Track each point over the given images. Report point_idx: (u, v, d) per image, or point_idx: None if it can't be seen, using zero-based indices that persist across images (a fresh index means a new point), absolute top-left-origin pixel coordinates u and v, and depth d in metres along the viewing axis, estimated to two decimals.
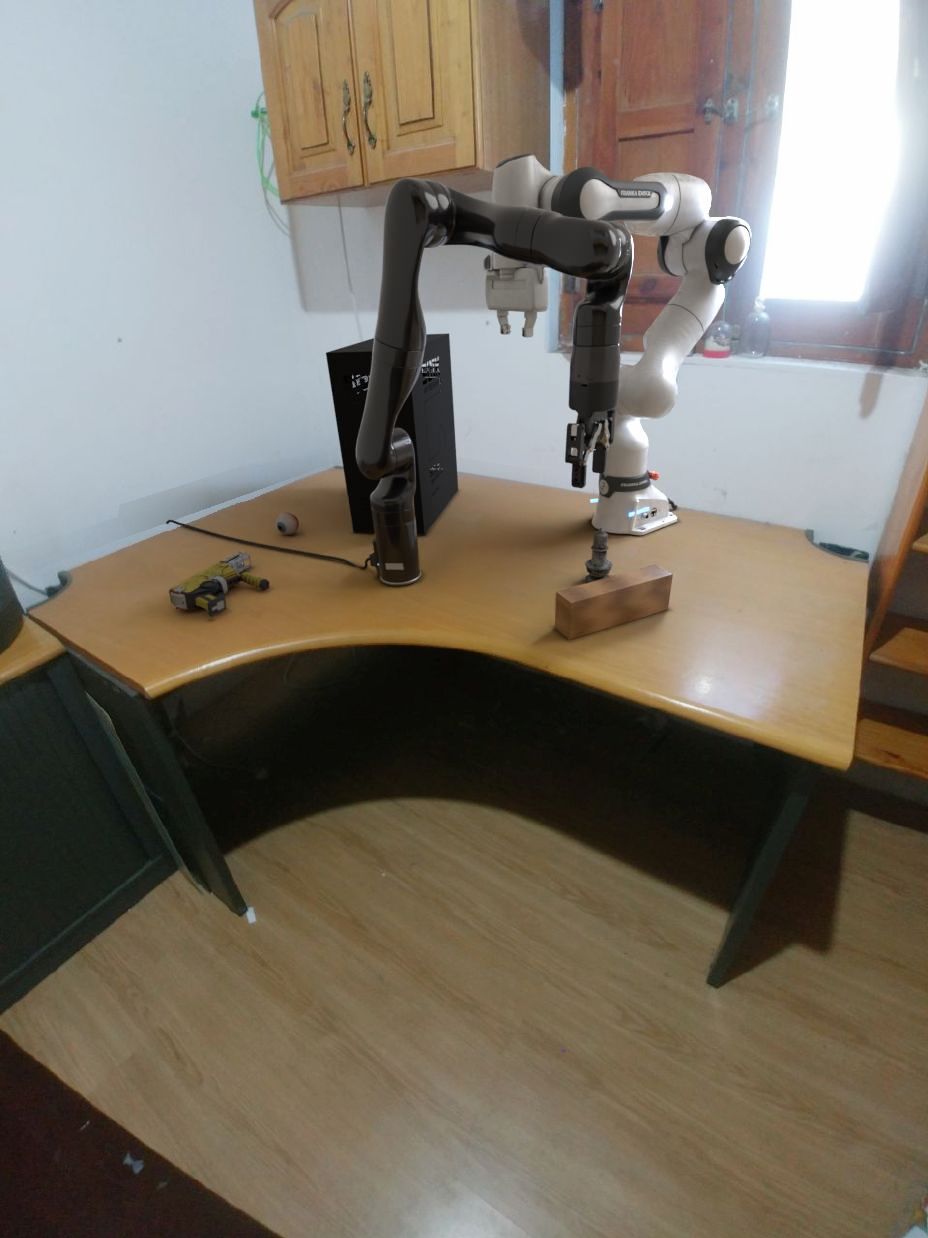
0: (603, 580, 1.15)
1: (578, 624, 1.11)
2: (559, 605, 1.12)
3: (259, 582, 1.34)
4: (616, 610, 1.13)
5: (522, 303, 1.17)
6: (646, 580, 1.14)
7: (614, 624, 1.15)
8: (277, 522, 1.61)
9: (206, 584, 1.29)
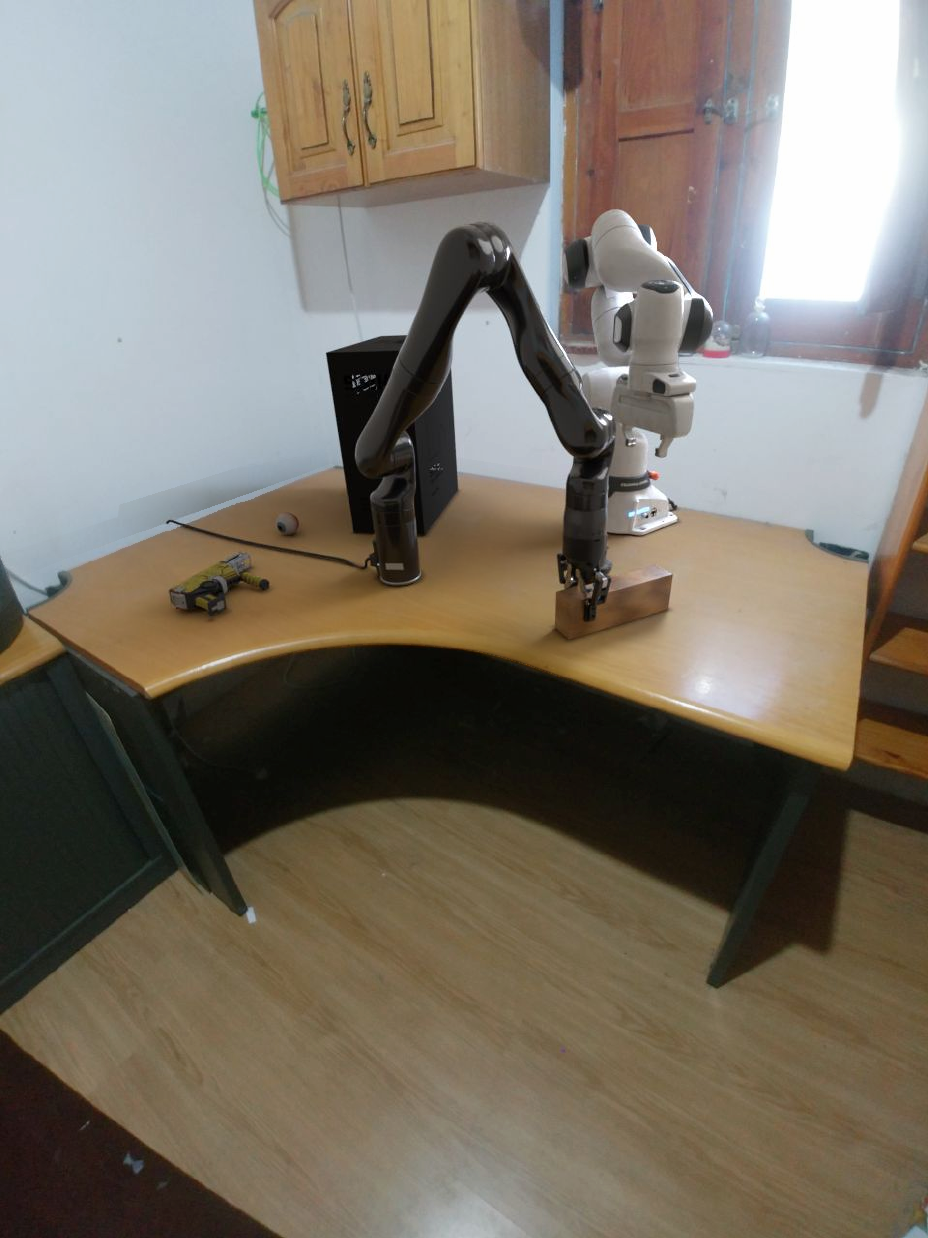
0: None
1: (578, 624, 1.11)
2: (559, 605, 1.12)
3: (259, 582, 1.34)
4: (616, 610, 1.13)
5: None
6: (646, 580, 1.14)
7: (614, 624, 1.15)
8: (277, 522, 1.61)
9: (206, 584, 1.29)
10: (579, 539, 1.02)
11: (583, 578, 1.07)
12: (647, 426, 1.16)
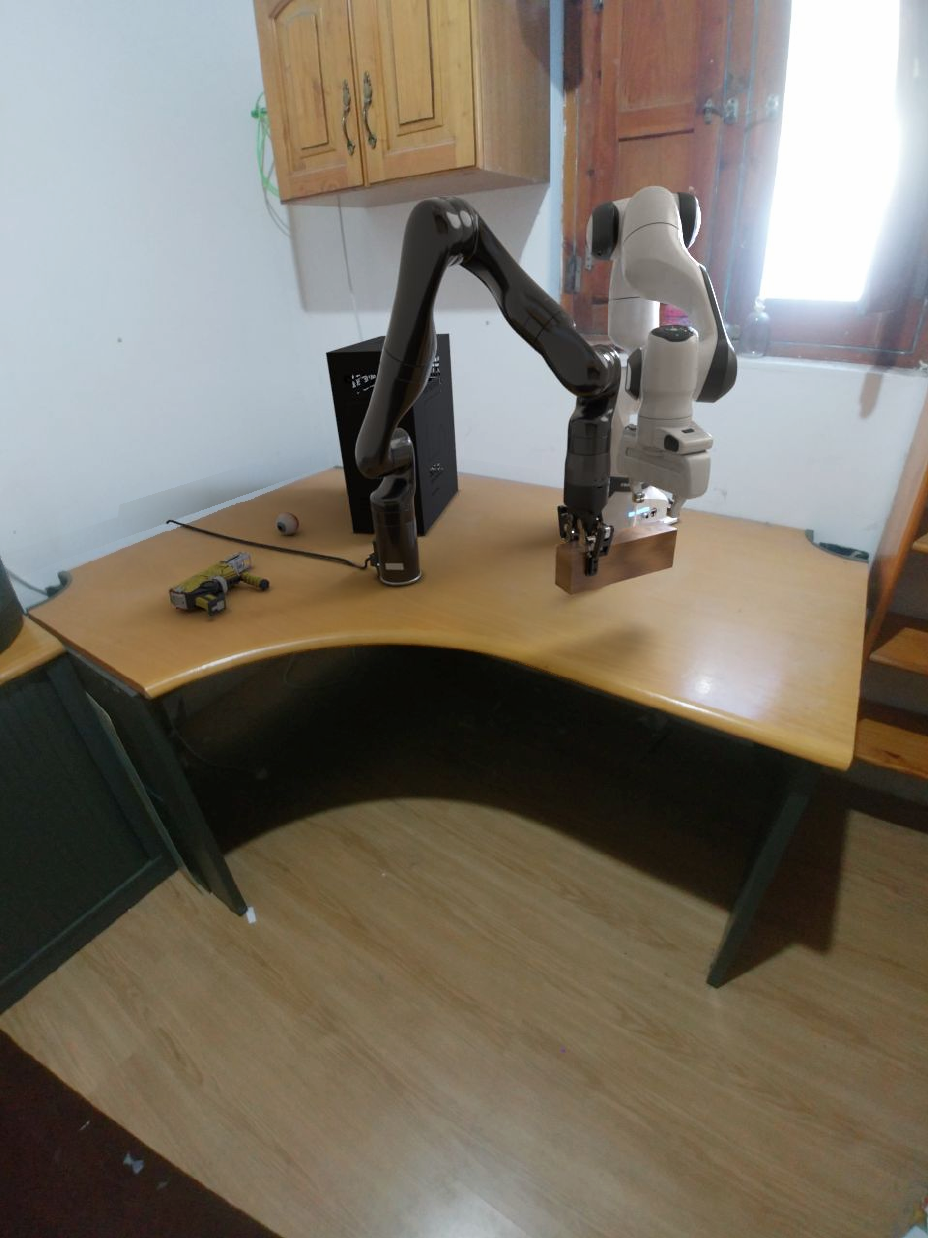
0: None
1: (579, 578, 1.06)
2: (559, 559, 1.07)
3: (259, 582, 1.34)
4: (618, 565, 1.09)
5: None
6: (650, 534, 1.09)
7: (616, 580, 1.10)
8: (277, 522, 1.61)
9: (206, 584, 1.29)
10: (581, 486, 0.97)
11: (585, 529, 1.02)
12: (658, 484, 1.04)
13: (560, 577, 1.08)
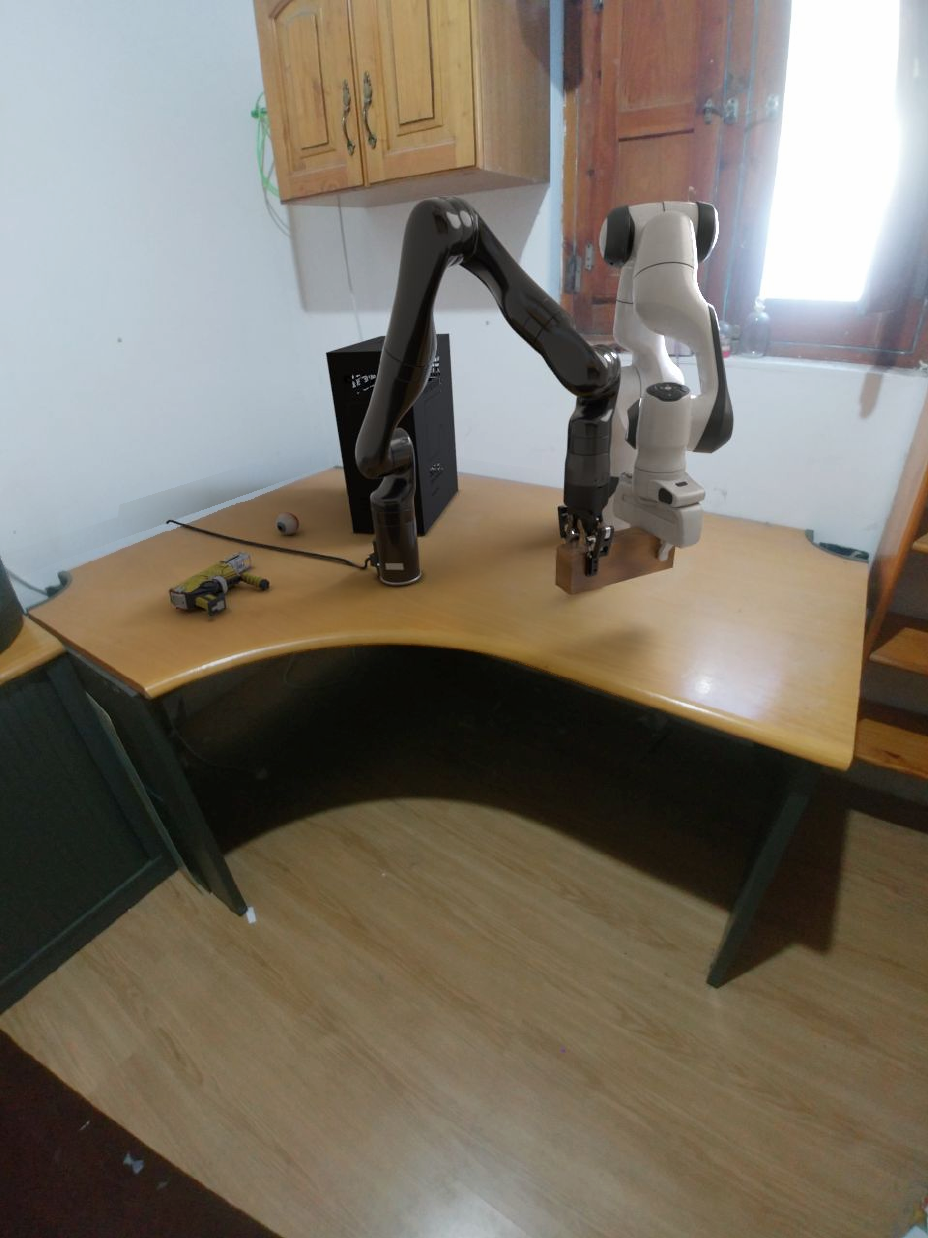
0: None
1: (579, 578, 1.06)
2: (560, 559, 1.07)
3: (259, 582, 1.34)
4: (619, 565, 1.09)
5: None
6: (650, 534, 1.09)
7: (617, 581, 1.10)
8: (277, 522, 1.61)
9: (206, 584, 1.29)
10: (581, 486, 0.97)
11: (585, 529, 1.02)
12: (652, 531, 1.09)
13: (560, 577, 1.08)
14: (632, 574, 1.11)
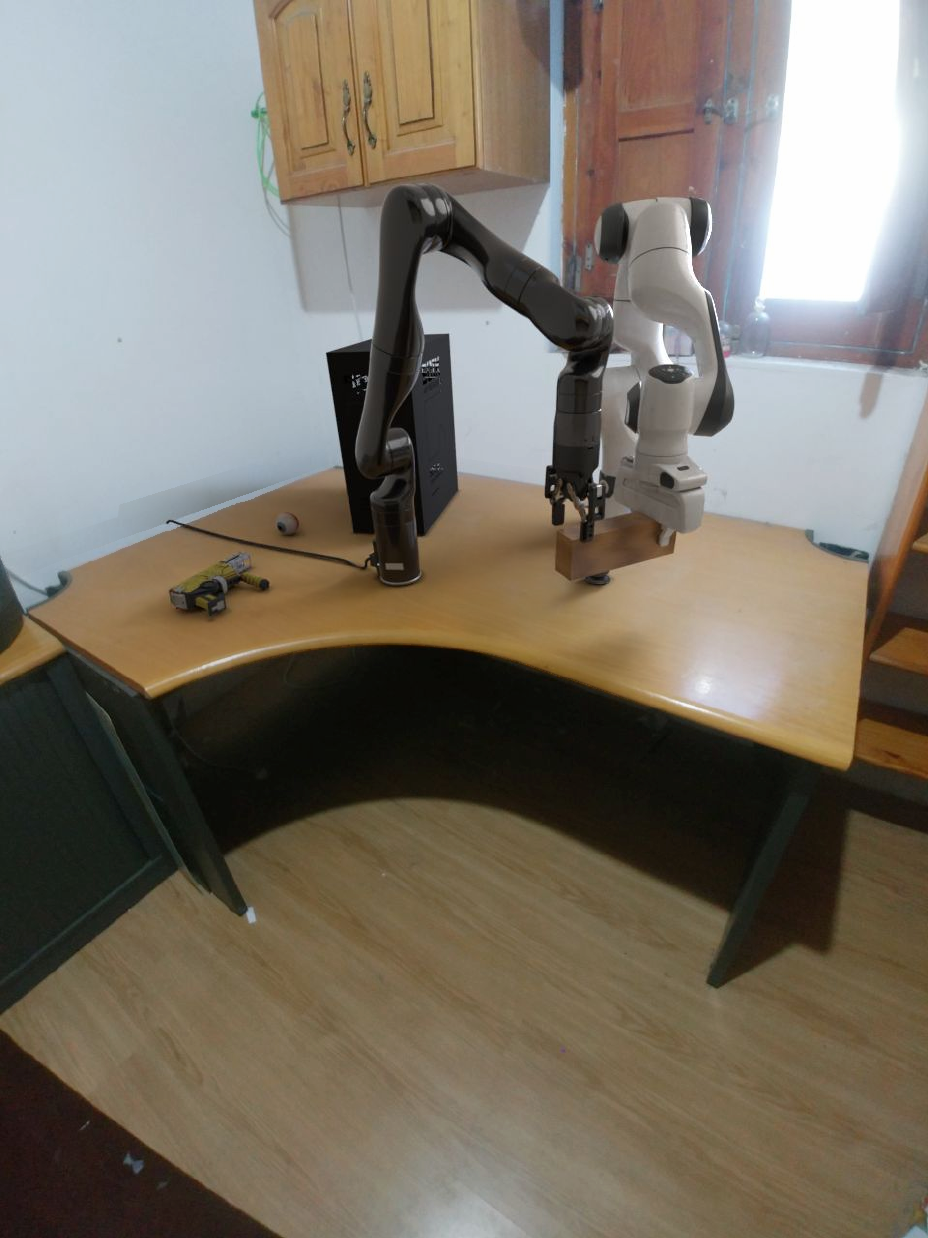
0: (606, 520, 1.09)
1: (579, 564, 1.05)
2: (560, 544, 1.06)
3: (259, 582, 1.34)
4: (619, 550, 1.08)
5: None
6: (651, 519, 1.08)
7: (617, 566, 1.09)
8: (277, 522, 1.61)
9: (206, 584, 1.29)
10: (571, 446, 0.93)
11: None
12: (653, 516, 1.08)
13: (560, 563, 1.07)
14: (633, 560, 1.10)
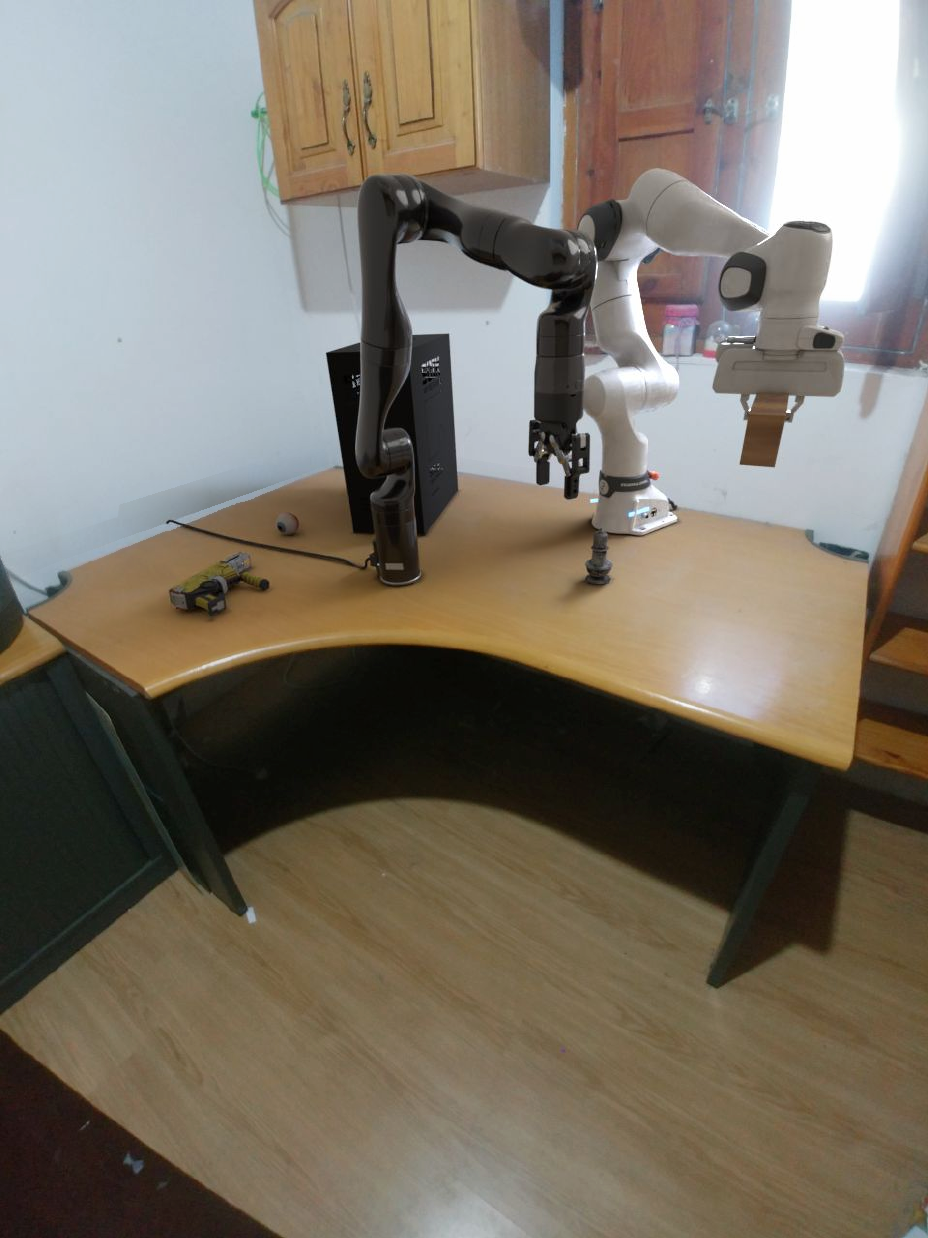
0: (758, 401, 0.99)
1: None
2: (755, 429, 0.92)
3: (259, 582, 1.34)
4: None
5: None
6: (786, 394, 1.03)
7: None
8: (277, 522, 1.61)
9: (206, 584, 1.29)
10: (552, 393, 0.88)
11: None
12: (787, 390, 1.03)
13: (754, 451, 0.94)
14: None
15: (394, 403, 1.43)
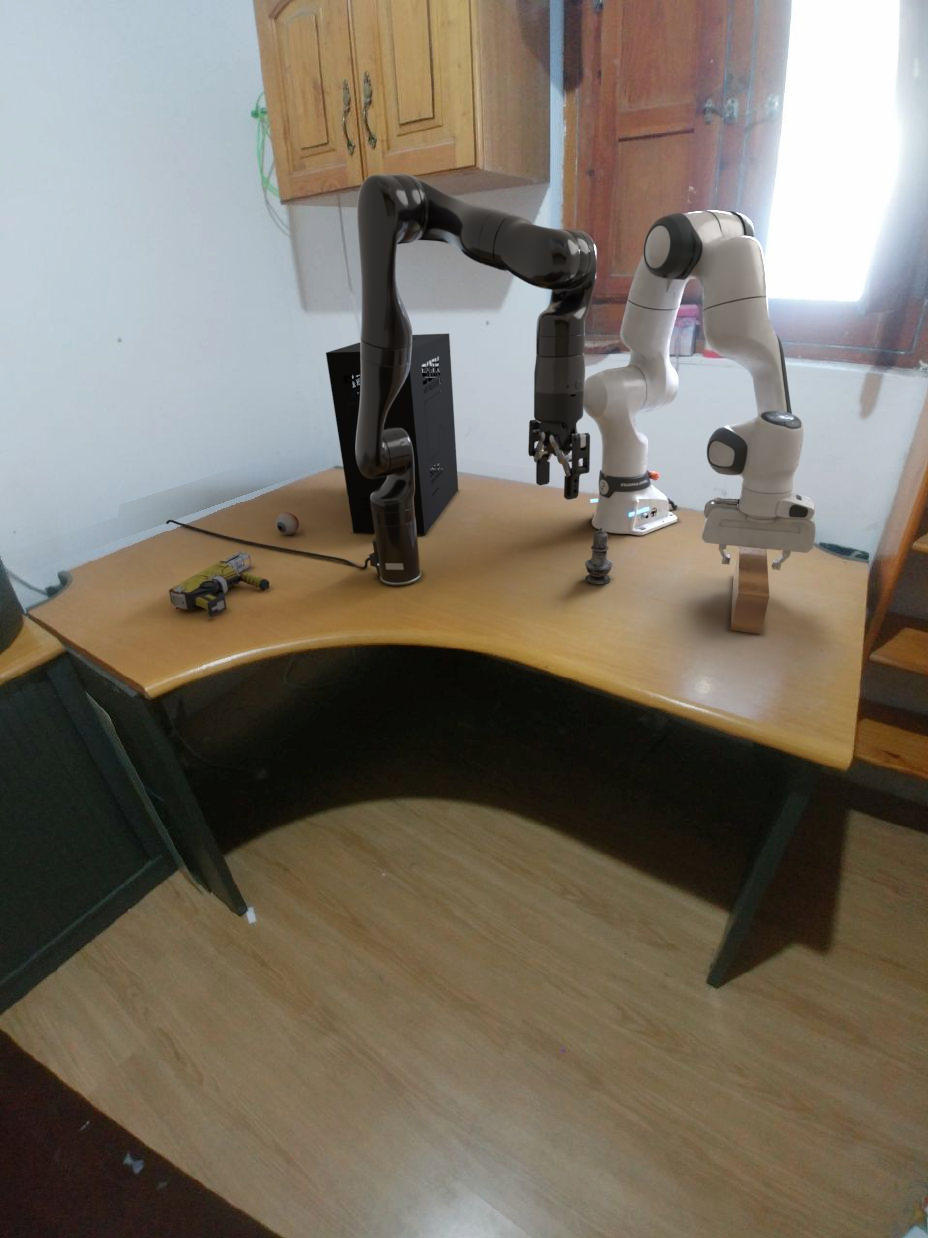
0: (742, 569, 1.16)
1: None
2: (744, 605, 1.08)
3: (259, 582, 1.34)
4: None
5: None
6: (765, 557, 1.19)
7: None
8: (277, 522, 1.61)
9: (206, 584, 1.29)
10: (552, 393, 0.88)
11: None
12: (767, 545, 1.18)
13: (743, 621, 1.10)
14: None
15: (394, 403, 1.43)
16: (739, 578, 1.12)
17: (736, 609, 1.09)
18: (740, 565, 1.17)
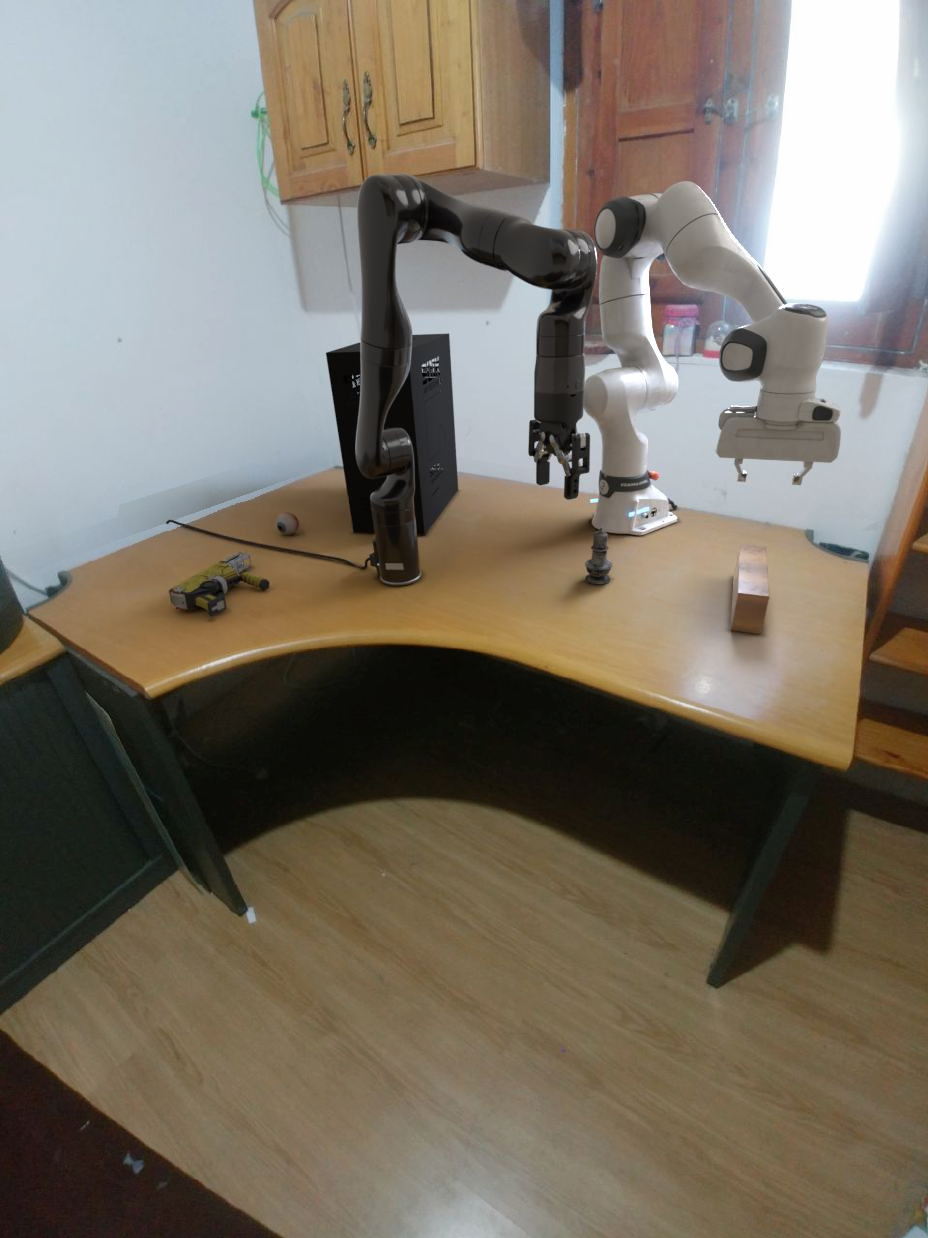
0: (742, 569, 1.16)
1: None
2: (744, 605, 1.08)
3: (259, 582, 1.34)
4: None
5: None
6: (765, 557, 1.19)
7: None
8: (277, 522, 1.61)
9: (206, 584, 1.29)
10: (552, 393, 0.88)
11: None
12: (788, 456, 1.09)
13: (743, 621, 1.10)
14: None
15: (394, 403, 1.43)
16: (739, 578, 1.12)
17: (736, 609, 1.09)
18: (740, 565, 1.17)
